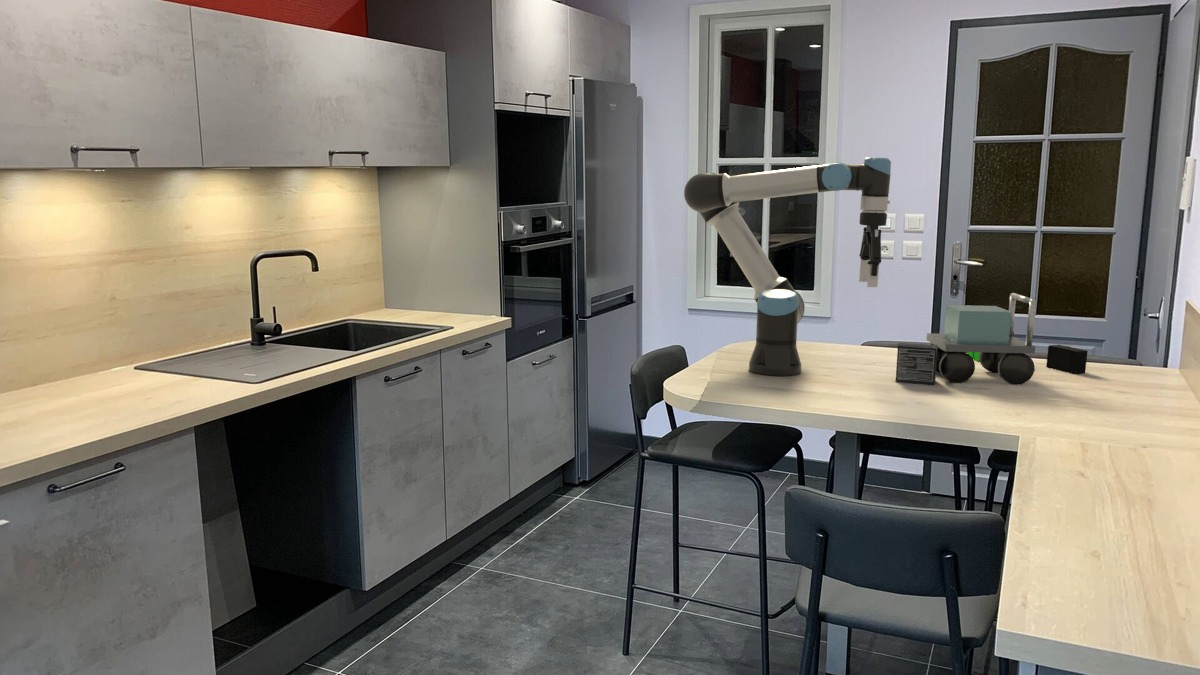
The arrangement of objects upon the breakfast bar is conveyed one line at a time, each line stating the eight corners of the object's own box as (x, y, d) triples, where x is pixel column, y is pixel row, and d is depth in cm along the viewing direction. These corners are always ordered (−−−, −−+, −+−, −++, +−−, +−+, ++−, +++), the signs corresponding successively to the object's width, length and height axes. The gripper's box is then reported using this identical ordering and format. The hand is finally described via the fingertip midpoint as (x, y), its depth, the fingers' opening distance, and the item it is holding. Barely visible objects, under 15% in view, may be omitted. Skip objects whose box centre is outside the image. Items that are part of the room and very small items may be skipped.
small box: (935, 380, 249) (938, 344, 247) (935, 385, 243) (938, 348, 241) (896, 377, 253) (899, 341, 251) (894, 382, 247) (897, 345, 245)
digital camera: (1088, 373, 261) (1091, 350, 260) (1075, 374, 259) (1077, 351, 258) (1059, 366, 270) (1062, 344, 269) (1046, 367, 269) (1048, 345, 267)
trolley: (940, 383, 246) (947, 298, 242) (922, 369, 264) (928, 290, 259) (1033, 385, 244) (1041, 300, 240) (1008, 371, 262) (1016, 292, 258)
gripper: (896, 213, 244) (889, 290, 248) (878, 210, 268) (873, 280, 272) (868, 213, 245) (862, 288, 248) (853, 209, 269) (848, 279, 273)
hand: (867, 284), depth 260 cm, fingers open, 13 cm apart
